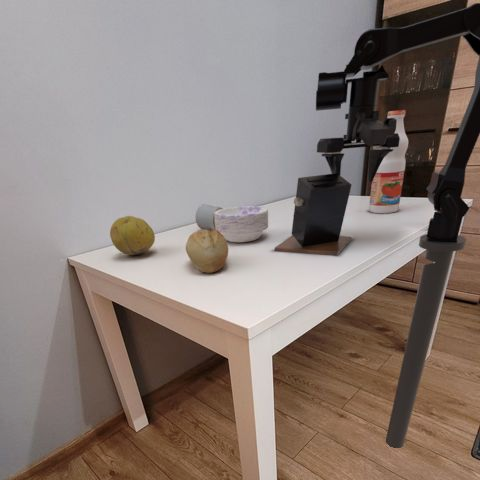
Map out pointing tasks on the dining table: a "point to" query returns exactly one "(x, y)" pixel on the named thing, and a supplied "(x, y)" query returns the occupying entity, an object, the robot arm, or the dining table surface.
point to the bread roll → (207, 250)
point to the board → (314, 246)
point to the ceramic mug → (206, 216)
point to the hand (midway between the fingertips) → (353, 183)
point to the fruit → (132, 235)
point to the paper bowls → (241, 222)
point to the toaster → (319, 209)
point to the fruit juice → (390, 172)
